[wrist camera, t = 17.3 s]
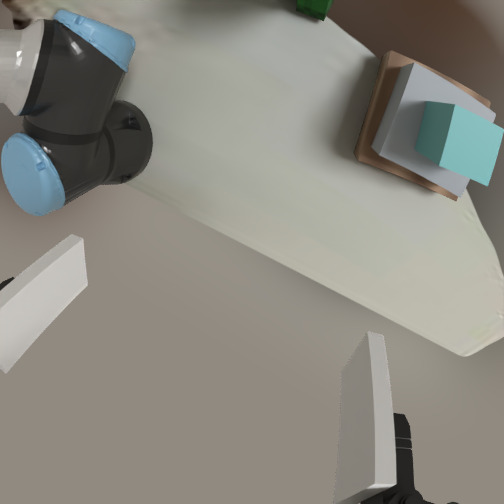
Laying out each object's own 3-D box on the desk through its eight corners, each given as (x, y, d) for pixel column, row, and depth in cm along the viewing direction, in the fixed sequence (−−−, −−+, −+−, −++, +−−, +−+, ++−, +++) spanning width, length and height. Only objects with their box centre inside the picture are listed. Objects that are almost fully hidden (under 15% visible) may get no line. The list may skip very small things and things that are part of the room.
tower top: (370, 146, 36) (379, 155, 31) (401, 66, 30) (414, 62, 25) (444, 184, 36) (460, 198, 31) (475, 110, 30) (495, 114, 25)
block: (414, 149, 30) (439, 165, 23) (426, 100, 27) (455, 104, 20) (456, 165, 29) (487, 186, 22) (469, 119, 26) (503, 129, 19)
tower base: (353, 152, 43) (358, 160, 38) (382, 55, 34) (391, 50, 29) (442, 188, 42) (456, 201, 36) (472, 99, 33) (490, 102, 28)
